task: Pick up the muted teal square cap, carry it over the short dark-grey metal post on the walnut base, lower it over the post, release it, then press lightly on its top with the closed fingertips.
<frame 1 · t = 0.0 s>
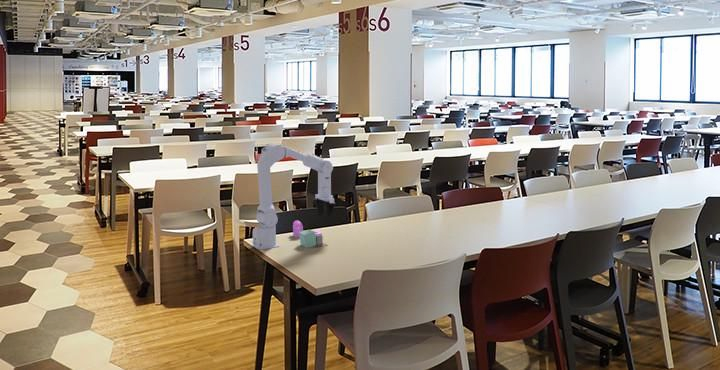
hand: (324, 216, 284), 10 cm above the table, fingers open, 7 cm apart
bracket: (308, 236, 291), on the table
cap: (308, 245, 272), on the table, tilted 7°, touching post
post: (318, 245, 273), on the table
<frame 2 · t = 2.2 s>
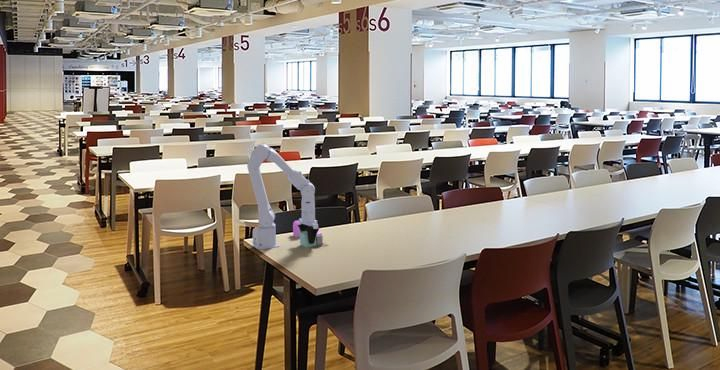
hand: (308, 242, 272), 2 cm above the table, fingers closed on cap, 5 cm apart
cap: (308, 245, 272), on the table, tilted 5°, touching gripper, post
everything else where it was.
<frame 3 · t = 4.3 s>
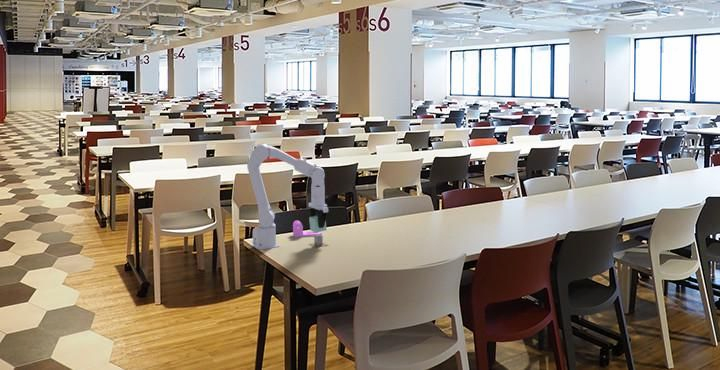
hand: (318, 226, 272), 9 cm above the table, fingers closed on cap, 5 cm apart
cap: (318, 230, 272), point 7 cm above the table, tilted 5°, touching gripper
everything else where it was.
when the fingers open (4 cm above the table, at t = 6.1 s): cap drops 2 cm, resting on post.
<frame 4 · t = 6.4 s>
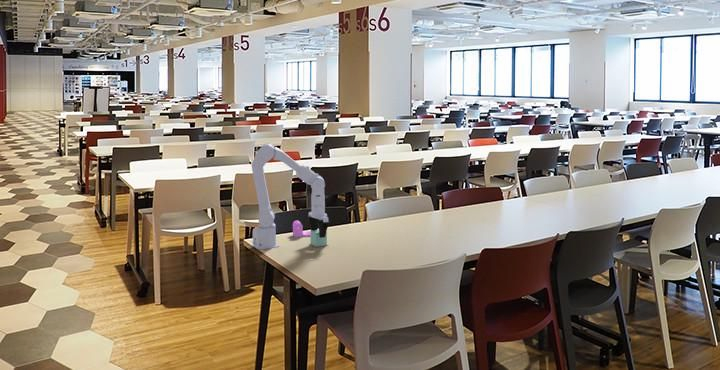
hand: (318, 235, 272), 4 cm above the table, fingers open, 7 cm apart
cap: (318, 244, 273), resting on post
everything else where it was.
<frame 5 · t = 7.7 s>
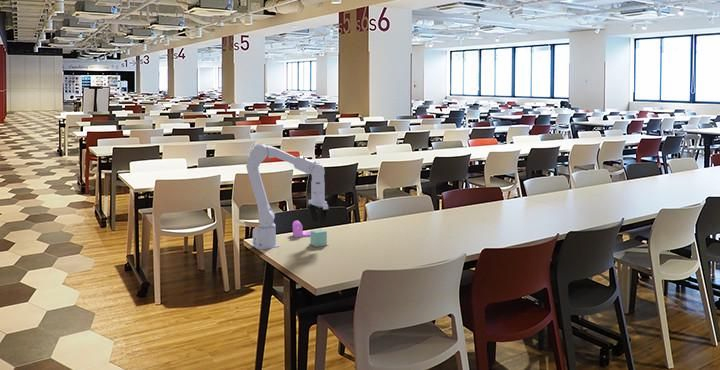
hand: (318, 223, 271), 10 cm above the table, fingers open, 6 cm apart
nothing on the table moved.
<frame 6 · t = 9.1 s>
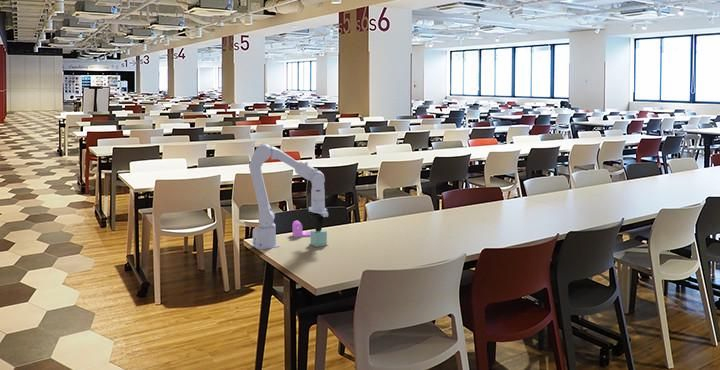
hand: (318, 230, 272), 7 cm above the table, fingers closed
nothing on the table moved.
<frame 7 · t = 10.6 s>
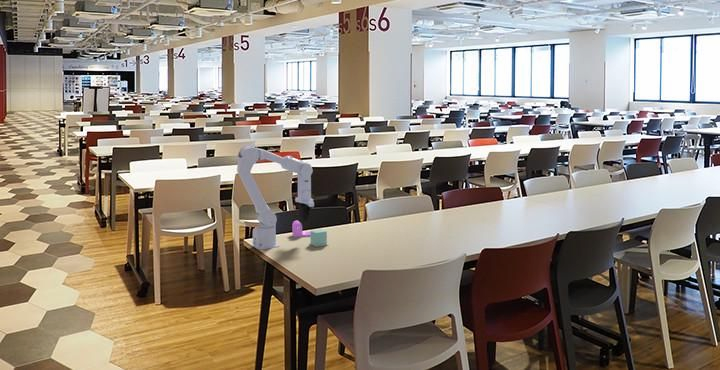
hand: (304, 220, 277), 10 cm above the table, fingers closed
nothing on the table moved.
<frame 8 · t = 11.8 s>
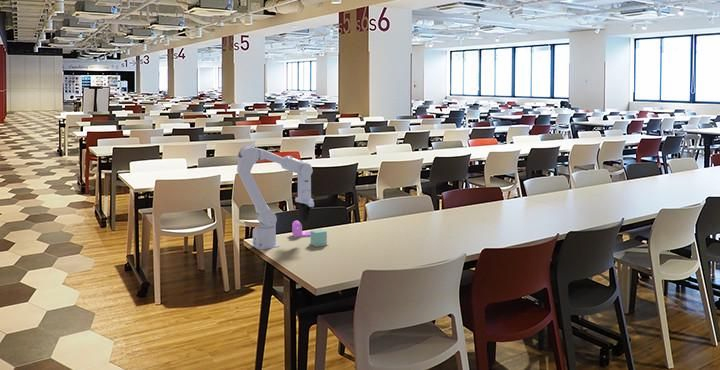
hand: (304, 220, 277), 10 cm above the table, fingers closed
nothing on the table moved.
at the end: cap 0.1 cm from the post (horizontally); cap resting on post; cap tilted 0° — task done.
